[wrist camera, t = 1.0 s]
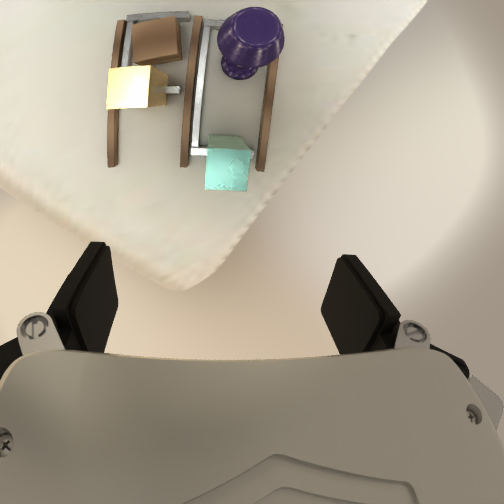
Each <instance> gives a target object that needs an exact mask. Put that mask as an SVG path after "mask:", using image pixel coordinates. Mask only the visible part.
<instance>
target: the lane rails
mask: <svg viewBox="0 0 504 504" xmlns="http://www.w3.org/2000/svg"><path fill="white" fill-rule="evenodd" d="M202 20H203V19H202V16H195V17H194V23H193V30H192V37H191V44H190V52H189V60H188V68H187V78H186V88H185V98H184V110H183V124H182V139H181V159H180V167H187V166H188V160H189V143H190V128H191V115H192V103H193V92H194V82H195V73H196V64H197V56H198V48H199V40H200V33H201V26H202ZM281 25H282V27H283V24H281ZM126 28H127V22H126V21H125V20H118V21H117V26H116V32H115V39H114V46H113V53H112V62H111V68H121V66H122V57H123V49H124V41H125V35H126ZM278 59H279V56H278V57H277V58H276V59H275V60H274V61H272V62H271V63H269V64H268V68H267V76H266V84H265V92H264V100H263V109H262V117H261V125H260V133H259V141H258V150H257V158H256V166H255V168H256V170H257V171H262V172H264V169H265V161H266V153H267V145H268V137H269V130H270V122H271V114H272V106H273V98H274V90H275V83H276V75H277V67H278ZM118 112H119V108H118V109H108V122H107V158H108V167H115V166H116V165H118Z"/></svg>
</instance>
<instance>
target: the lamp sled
mask: <svg viewBox="0 0 504 504" xmlns="http://www.w3.org/2000/svg"><path fill="white" fill-rule="evenodd" d="M224 21H225V20H211V19H205V21H204V30H203V37H202V44H201V52H200V60H199V68H198V77H197V86H196V97H195V108H194V120H193V133H192V147H191V155H206V156H207V160H206V175H205V189H213V190H233V191H247V182H248V173H249V164H250V158H253V157H254V151H253V150H252V149H249V147H248V146H247V145H246V143H245V142H244V141H243V140H242V138H241V137H240V136H226V135H209V139H208V146H198V143H199V129H200V117H201V106H202V95H203V85H204V76H205V67H206V59H207V51H208V43H209V36H210V29H212V30H219V29H220V27H221V25H222V24H223V23H224Z"/></svg>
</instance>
